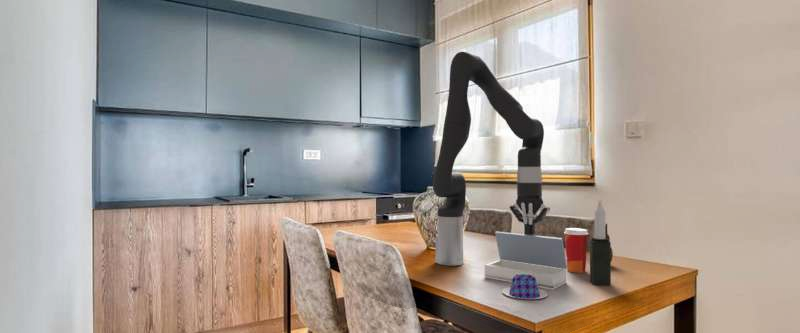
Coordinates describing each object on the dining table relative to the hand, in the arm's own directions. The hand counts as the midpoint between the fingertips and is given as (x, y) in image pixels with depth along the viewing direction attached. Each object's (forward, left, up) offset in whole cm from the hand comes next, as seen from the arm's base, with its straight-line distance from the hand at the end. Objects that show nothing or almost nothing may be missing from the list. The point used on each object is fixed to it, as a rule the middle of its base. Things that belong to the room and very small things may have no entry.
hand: (529, 236), depth 140 cm
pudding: (+7, -18, -14) cm, 23 cm away
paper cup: (+8, +18, -13) cm, 24 cm away
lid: (0, -1, -4) cm, 4 cm away
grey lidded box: (0, -4, -13) cm, 14 cm away
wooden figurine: (+12, +33, -13) cm, 38 cm away
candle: (+19, +7, -13) cm, 24 cm away
